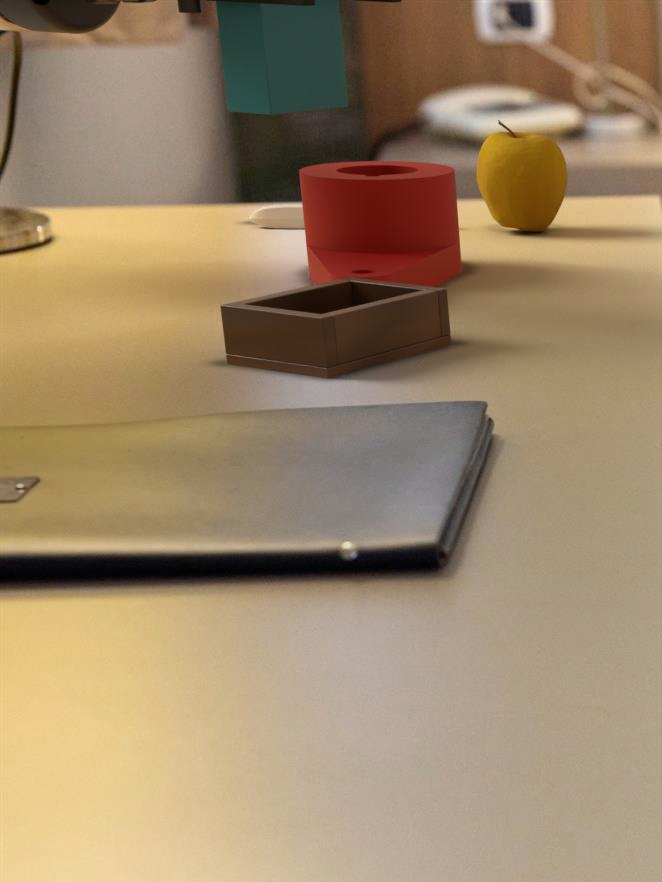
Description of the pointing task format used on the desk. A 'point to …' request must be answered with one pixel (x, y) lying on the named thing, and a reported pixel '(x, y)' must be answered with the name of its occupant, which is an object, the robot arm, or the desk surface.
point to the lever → (381, 221)
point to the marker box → (282, 57)
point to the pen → (279, 216)
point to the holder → (335, 326)
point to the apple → (522, 179)
